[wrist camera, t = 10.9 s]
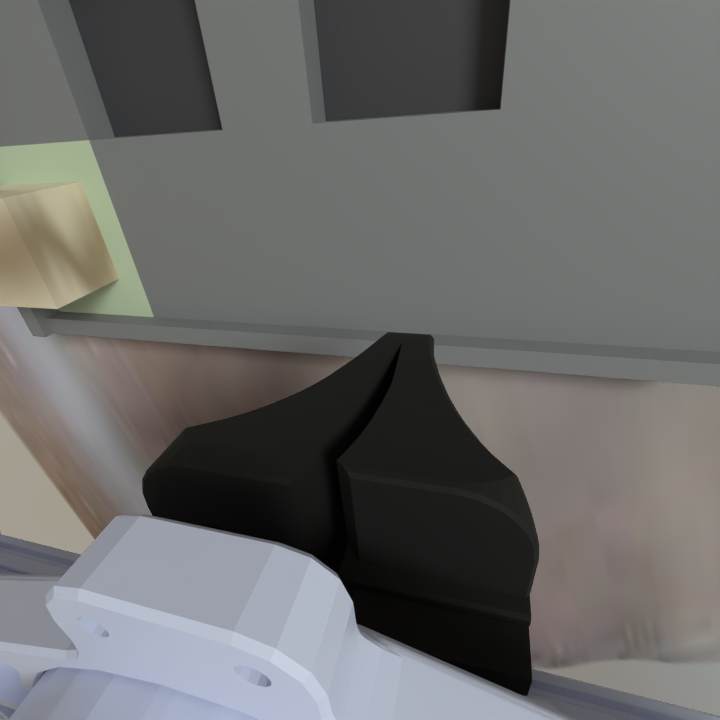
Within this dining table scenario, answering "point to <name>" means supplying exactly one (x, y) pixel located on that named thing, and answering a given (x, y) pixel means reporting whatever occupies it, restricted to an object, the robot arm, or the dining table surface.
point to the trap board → (386, 174)
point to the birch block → (50, 246)
